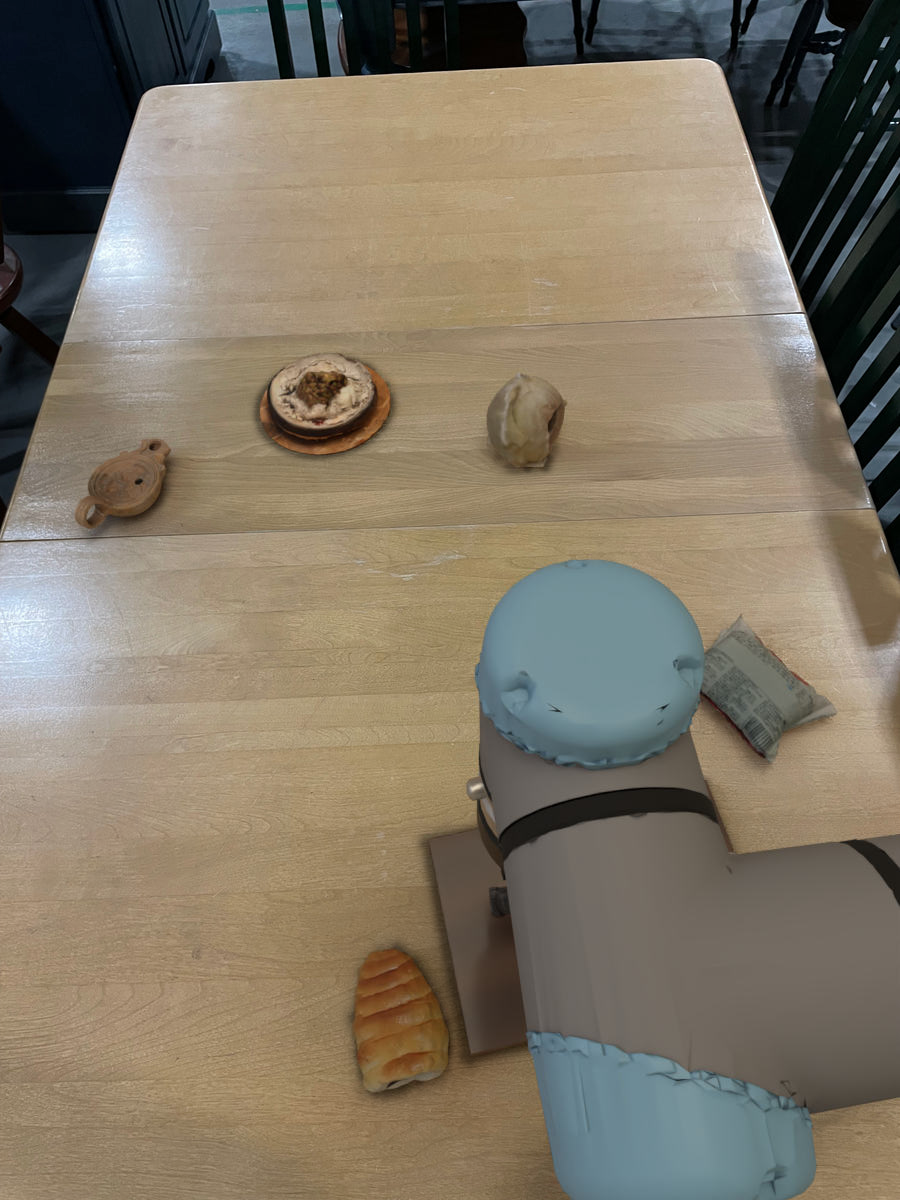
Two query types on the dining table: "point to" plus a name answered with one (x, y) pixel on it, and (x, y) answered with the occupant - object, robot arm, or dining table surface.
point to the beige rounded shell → (525, 420)
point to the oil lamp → (125, 484)
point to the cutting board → (484, 940)
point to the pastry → (397, 1023)
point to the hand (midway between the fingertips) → (527, 902)
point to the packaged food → (758, 690)
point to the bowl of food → (324, 404)
